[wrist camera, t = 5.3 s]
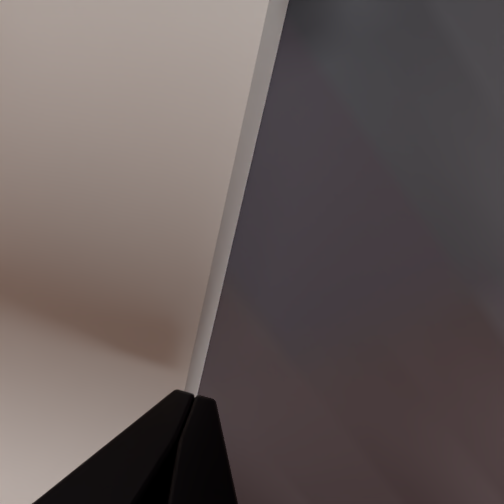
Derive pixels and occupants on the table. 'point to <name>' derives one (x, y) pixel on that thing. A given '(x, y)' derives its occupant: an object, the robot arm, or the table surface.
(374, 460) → the table surface
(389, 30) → the table surface
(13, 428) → the white block with cutout
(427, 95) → the table surface
